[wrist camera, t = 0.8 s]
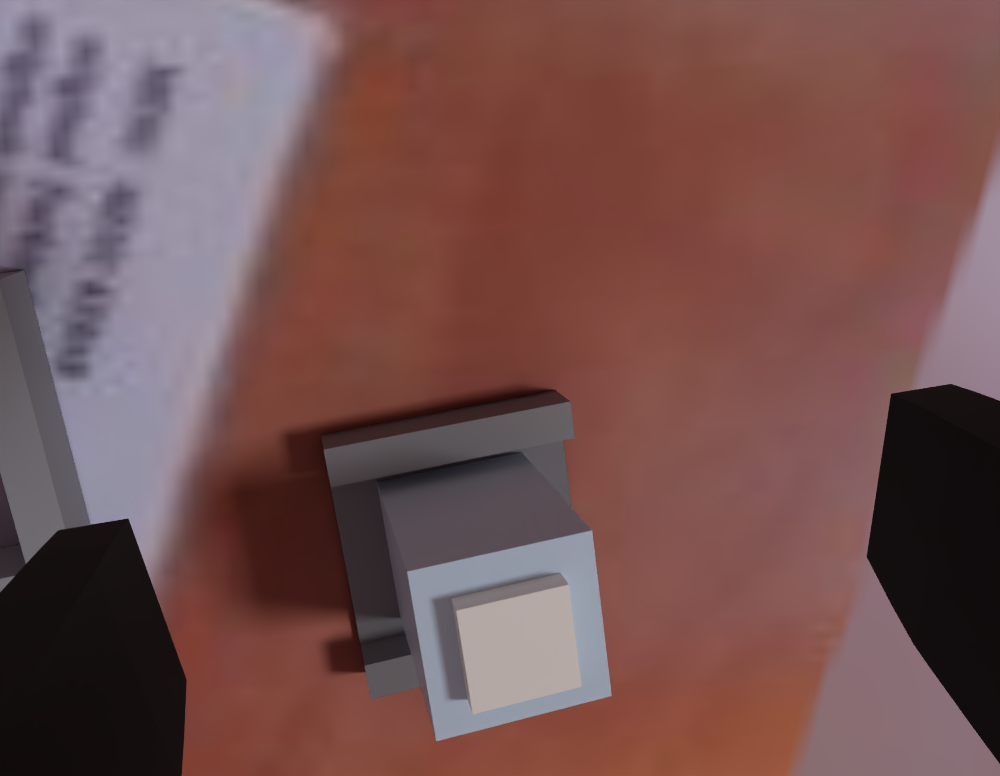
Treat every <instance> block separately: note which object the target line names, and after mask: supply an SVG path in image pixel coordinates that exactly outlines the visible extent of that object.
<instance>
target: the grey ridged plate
mask: <svg viewBox="0 0 1000 776" xmlns="http://www.w3.org/2000/svg"><path fill="white" fill-rule="evenodd" d="M573 438H575V436H574V428H573V420H572V411H571V403H570V401H569V400H568V399H566V398H565V397H564V396H562V395H561V394H560V393H558V392H557V391H556V390H552V391H547V392H542V393H537V394H531V395H526V396H521V397H516V398H511V399H505V400H500V401H495V402H490V403H485V404H479V405H474V406H469V407H464V408H459V409H453V410H448V411H443V412H438V413H432V414H427V415H422V416H417V417H412V418H406V419H401V420H396V421H391V422H386V423H380V424H375V425H370V426H365V427H360V428H354V429H349V430H344V431H339V432H333V433H328V434H323V435H321V439H322V444H323V450H324V455H325V460H326V466H327V471H328V476H329V481H330V487H331V492H332V497H333V502H334V508H335V513H336V518H337V523H338V529H339V534H340V539H341V545H342V550H343V555H344V560H345V566H346V571H347V576H348V582H349V587H350V592H351V597H352V603H353V608H354V613H355V618H356V624H357V629H358V634H359V640H360V645H361V650H362V656H363V661H364V666H365V671H366V677H367V682H368V687H369V693H370V698H371V699H374V698H378V697H383V696H387V695H391V694H395V693H399V692H403V691H407V690H411V689H415V688H419V687H420V683H419V680H418V676H417V673H416V669H415V666H414V662H413V659H412V655H411V652H410V649H409V645H408V642H407V638H406V635H405V631H404V628H403V624H402V621H401V617H400V612H399V606H398V600H397V595H396V589H395V583H394V578H393V572H392V566H391V561H390V555H389V549H388V544H387V538H386V532H385V527H384V521H383V515H382V510H381V504H380V498H379V493H378V487H377V482H379V481H384V480H388V479H393V478H398V477H403V476H408V475H413V474H418V473H423V472H428V471H433V470H438V469H442V468H447V467H452V466H457V465H462V464H467V463H472V462H477V461H482V460H487V459H492V458H497V457H501V456H506V455H511V454H516V453H521V452H522V453H523V454H524V455H525V457H526V458H527V459H528V460H529V461H530V462H531V463H532V464H533V465H534V467H535V468H536V469H537V470H538V471H539V472H540V473H541V474H542V475H543V477H544V478H545V479H546V480H547V481H548V482H549V483H550V484H551V485H552V487H553V488H554V489H555V490H556V491H557V492H558V493H559V494H560V495H561V497H562V498H563V499H564V500H565V501H566V502H567V503H568V504H569V505H570V507H571V500H570V492H569V483H568V475H567V467H566V459H565V451H564V443H563V440H568V439H573Z"/></svg>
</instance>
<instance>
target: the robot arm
mask: <svg viewBox="0 0 1000 776" xmlns="http://www.w3.org/2000/svg"><path fill="white" fill-rule="evenodd" d="M867 558H868V560H869V562H870V564H871V566H872V568H873V570H874V572H875V574H876V576H877V578H878V579H879V581H880V583H881V585H882V587H883V589H884V591H885V592H886V595H887V597H888V599H889V600H890V603H891V605H892V606H893V608H894V610H895V612H896V613H897V615H898V617H899V619H900V621H901V622H902V624H903V626H904V628H905V630H906V631H907V633H908V635H909V637H910V638H911V640H912V642H913V644H914V645H915V647H916V648H917V650H918V651H919V652H920V654H921V655H922V657H923V658H924V660H925V661H926V663H927V664H928V665H929V667H930V668H931V670H932V671H933V673H934V674H935V675H936V677H937V678H938V679H939V681H940V682H941V684H942V685H943V686H944V688H945V689H946V691H947V692H948V693H949V695H950V696H951V698H952V699H953V700H954V702H955V703H956V704H957V706H958V707H959V709H960V710H961V711H962V713H963V714H964V716H965V717H966V718H967V720H968V721H969V722H970V724H971V725H972V727H973V728H974V729H975V731H976V732H977V733H978V735H979V736H980V737H981V739H982V740H983V742H984V743H985V744H986V746H987V747H988V748H989V750H990V751H991V752H992V754H993V755H994V757H995V758H996V759H997V761H998V762H999V763H1000V401H998V400H995V399H993V398H991V397H988V396H985V395H982V394H979V393H977V392H974V391H971V390H968V389H965V388H961V387H959V386H955V385H952V384H949V385H942V386H936V387H930V388H923V389H917V390H911V391H905V392H899V393H893V394H891V398H890V405H889V412H888V418H887V425H886V432H885V438H884V445H883V452H882V458H881V465H880V472H879V478H878V485H877V492H876V499H875V505H874V512H873V519H872V525H871V532H870V539H869V545H868V552H867ZM185 703H186V677H185V674H184V672H183V669H182V666H181V663H180V660H179V658H178V655H177V652H176V649H175V647H174V644H173V641H172V638H171V636H170V633H169V630H168V627H167V624H166V622H165V619H164V616H163V613H162V611H161V608H160V605H159V602H158V600H157V597H156V594H155V591H154V588H153V586H152V583H151V580H150V577H149V575H148V572H147V569H146V566H145V564H144V561H143V558H142V555H141V552H140V550H139V547H138V544H137V541H136V539H135V536H134V533H133V530H132V528H131V525H130V522H129V519H123V520H117V521H111V522H105V523H99V524H92V525H86V526H80V527H74V528H68V529H62V530H58V531H57V532H56V533H55V534H54V535H53V536H52V537H51V538H50V539H49V540H48V541H47V542H46V543H45V544H44V545H43V546H42V547H41V548H40V549H39V550H38V551H37V552H36V554H35V555H34V556H33V557H32V558H31V559H30V560H29V561H28V562H27V563H26V564H25V565H24V567H23V568H22V569H21V570H20V571H19V572H18V573H17V574H16V575H15V576H14V578H13V579H12V580H11V581H10V582H9V583H8V584H7V585H6V586H5V588H4V589H3V590H2V591H1V592H0V776H181V775H182V760H183V745H184V726H185Z"/></svg>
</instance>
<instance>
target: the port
mask: <svg viewBox="0 0 1000 776" xmlns="http://www.w3.org/2000/svg"><path fill="white" fill-rule="evenodd" d="M0 474H1V477H2V481H3V484H4V488H5V492H6V495H7V499H8V502H9V506H10V509H11V513H12V517H13V520H14V524H15V527H16V531H17V534H18V538H19V542H20V544H18V545H13V546H8V547H3V548H0V592H1V591H2V590H3V589H4V588H5V586H6V585H7V584H8V583H9V582H10V581H11V580H12V579H13V578H14V576H15V575H16V574H17V573H18V572H19V571H20V570H21V569H22V568H23V567H24V565H25V564H26V563H27V562H28V561H29V560H30V559H31V558H32V557H33V556H34V555H35V554H36V552H37V551H38V550H39V549H40V548H41V547H42V546H43V545H44V544H45V543H46V542H47V541H48V540H49V539H50V538H51V537H52V536H53V535H54V534H55V533H56V532H57V531H58V530H62V529H68V528H74V527H80V526H86V525H90V521H89V517H88V514H87V510H86V506H85V502H84V498H83V494H82V490H81V487H80V483H79V479H78V475H77V471H76V467H75V463H74V460H73V456H72V452H71V448H70V444H69V440H68V436H67V432H66V429H65V425H64V421H63V417H62V413H61V409H60V405H59V402H58V398H57V394H56V390H55V386H54V382H53V378H52V375H51V371H50V367H49V363H48V359H47V355H46V351H45V348H44V344H43V340H42V336H41V332H40V328H39V324H38V320H37V317H36V313H35V309H34V305H33V301H32V297H31V293H30V290H29V286H28V282H27V278H26V274H25V270H21V271H15V272H8V273H1V274H0Z"/></svg>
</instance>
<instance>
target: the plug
mask: <svg viewBox="0 0 1000 776" xmlns="http://www.w3.org/2000/svg"><path fill="white" fill-rule="evenodd" d="M377 487H378V493H379V498H380V504H381V510H382V515H383V521H384V527H385V532H386V538H387V544H388V549H389V555H390V561H391V566H392V572H393V578H394V583H395V589H396V595H397V600H398V606H399V612H400V617H401V621H402V624H403V628H404V631H405V635H406V638H407V642H408V645H409V649H410V652H411V655H412V659H413V662H414V666H415V669H416V673H417V676H418V680H419V683H420V687H421V690H422V693H423V697H424V700H425V704H426V707H427V711H428V714H429V718H430V721H431V724H432V728H433V731H434V735H435V738H436V741H439V740H443V739H447V738H451V737H455V736H459V735H462V734H466V733H470V732H474V731H478V730H482V729H486V728H489V727H493V726H497V725H501V724H505V723H509V722H513V721H516V720H520V719H524V718H528V717H532V716H536V715H540V714H544V713H547V712H551V711H555V710H559V709H563V708H567V707H571V706H574V705H578V704H582V703H586V702H590V701H594V700H598V699H601V698H605V697H609V696H612V695H611V687H610V679H609V670H608V662H607V653H606V645H605V636H604V628H603V619H602V611H601V603H600V594H599V586H598V577H597V569H596V560H595V552H594V543H593V535H592V530H591V529H590V528H589V527H588V525H587V524H586V523H585V522H584V521H583V520H582V519H581V518H580V517H579V515H578V514H577V513H576V512H575V511H574V510H573V509H572V508H571V507H570V505H569V504H568V503H567V502H566V501H565V500H564V499H563V498H562V497H561V495H560V494H559V493H558V492H557V491H556V490H555V489H554V488H553V487H552V485H551V484H550V483H549V482H548V481H547V480H546V479H545V478H544V477H543V475H542V474H541V473H540V472H539V471H538V470H537V469H536V468H535V467H534V465H533V464H532V463H531V462H530V461H529V460H528V459H527V458H526V457H525V455H524V454H523V453H522V452H521V453H516V454H511V455H506V456H501V457H497V458H492V459H487V460H482V461H477V462H472V463H467V464H462V465H457V466H452V467H447V468H442V469H438V470H433V471H428V472H423V473H418V474H413V475H408V476H403V477H398V478H393V479H388V480H384V481H379V482H377Z"/></svg>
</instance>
